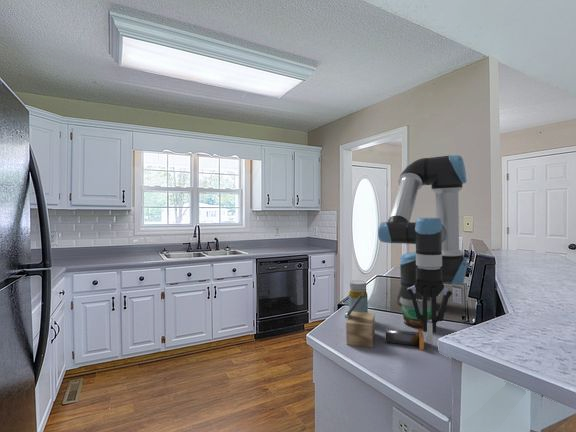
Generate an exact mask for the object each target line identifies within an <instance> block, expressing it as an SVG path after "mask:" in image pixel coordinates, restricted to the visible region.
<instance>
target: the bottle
mask: <svg viewBox="0 0 576 432" xmlns="http://www.w3.org/2000/svg"><path fill="white" fill-rule="evenodd" d="M362 292H364V296H363V298H362V299H361V300H360V302H359V303H358V304H357V306H356V307H355V308H354V310H353V311H354V312H366V313H369V312H368V310H369V309H368V307H369V305H368V304H369V303H368V298H369V297H368V292H367V281H365V280H350V282H349V293H348V308H349V309H350V308H351V307H352V305H353V304H354V303H355V301H356V300H357V299H358V297H359V296H360V295H361V293H362ZM349 309H348V310H349Z"/></svg>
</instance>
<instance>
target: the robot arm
mask: <svg viewBox="0 0 576 432" xmlns="http://www.w3.org/2000/svg"><path fill="white" fill-rule="evenodd" d="M464 162H465V161H464V159H463V157H462V156H461V155H457V154H456V155H442V156H435V157H434V156H433V157H432V156H431V157H422V158H418V159H417V160H415V161H413V162H411V163H410V164H409V165H407V166H406V167H405V168H404V169H403V171H402V172H401V174H400V175H399V178H398V181H397V182H398V186H399V187H398V189H397V192H396V195H395V199H394V201H393V204H392V207H391V210H390V214H389V216H388V220H387V221H382V222H380V223H379V224H378V228H377V236H378V240H379V241H380V242H381V243H387V244H405V245H407V244H410V245H411V244H412V245H415V251H413V252H406V253H403V254H402V255H400V263H399V266H400V267H399V268H400V287H399V290H398V294H397V296H396V303H397V304H398V305H400V306H402V304H401V303H400V298H401V297H402V298H404V299H412V301H413V305H414V309H415V312H416V316H417V319H420V320H422V321H423V329H422V332H423V333H424V332H425V333H426V342H427V344H431V345H433V343H434V342H433V335H434V334H433V333H435V334H436V333H437V322H442V321H444V316H445V313H446V309H447V304H448V302H449V299H450V298H451V296H452V295H453V292H452V291H451V289H449V288H447V287H445V284H446V285H452V286H453V285H454V286H462V285H463V284H464V282H465V279H466V274H467V267H468V257H465V256H464V252H463V251H462V250H461V249H460V226H459V225H460V222H459V221H460V216H459V212H460V210H459V206H460V205H459V192H460V191H461V190H462V189H463V185H464V184H466V183H467V174H466V166H465V163H464ZM423 186H431V191H433V192H434V193H435V217H418V218H416V219H415V222H410V221H411V218H412V213H413V210H414V207H415V203H416V200H417V195H418V192H419V190H420V189H421V188H422V187H423ZM441 293H442V298H441V302H440V305H439V309H438V313H437V297H438V296H439V295H440V294H441ZM416 299H421V300H422V315H421V314H420V312H419V308H418V304H417V300H416ZM427 300H428V301H431V320H427Z"/></svg>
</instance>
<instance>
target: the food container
mask: <svg viewBox="0 0 576 432" xmlns="http://www.w3.org/2000/svg"><path fill="white" fill-rule="evenodd" d="M416 300H417V304H418V308H419V312H420V314H421V315H422V300H421V299H416ZM400 303H401V304H402V305H401V310H402V318H403V324H404V325H405V326H407V327H409V328H413V329H417V330H418V329H422V330H423V321H422V320H420V319H417V316H416V312H415V309H414V305H413V301H412V299H404V298H402V297H401V298H400ZM427 320H431V301H428V300H427Z"/></svg>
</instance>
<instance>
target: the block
mask: <svg viewBox="0 0 576 432" xmlns="http://www.w3.org/2000/svg"><path fill="white" fill-rule="evenodd" d="M375 321H376V320H375V313H374V312H368V313H366V312H354V311H352V312H351V314H350V315H349V317H348V318H347V320H346V323H345V324H346V325H345V326H346V327H345V330H346V331H345V332H346V333H345V334H346V340H345V341H346V345H347V346H349V345H350V346H357V347H364V348H373V346H374V337H375V329H376V328H375V327H376V326H375Z"/></svg>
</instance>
